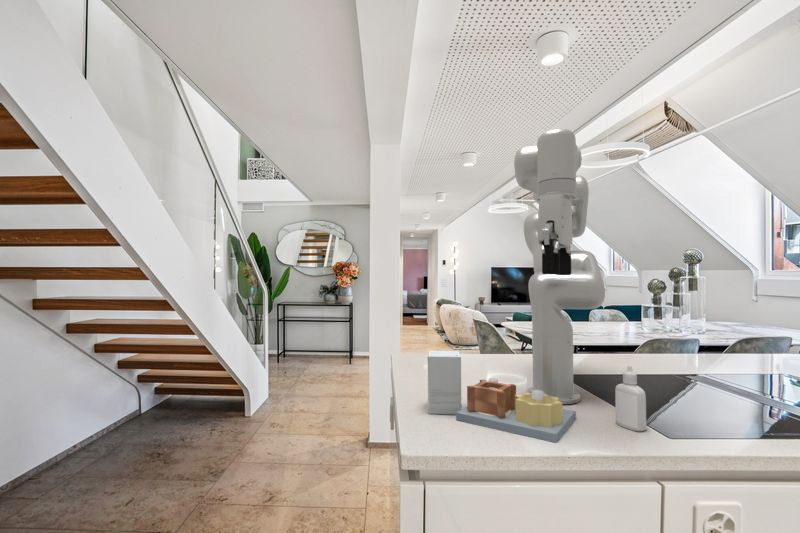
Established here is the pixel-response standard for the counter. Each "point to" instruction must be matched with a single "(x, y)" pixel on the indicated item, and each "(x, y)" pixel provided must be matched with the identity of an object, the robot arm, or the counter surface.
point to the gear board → (519, 425)
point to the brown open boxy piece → (491, 398)
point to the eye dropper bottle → (630, 403)
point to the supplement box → (444, 382)
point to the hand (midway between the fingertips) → (557, 274)
